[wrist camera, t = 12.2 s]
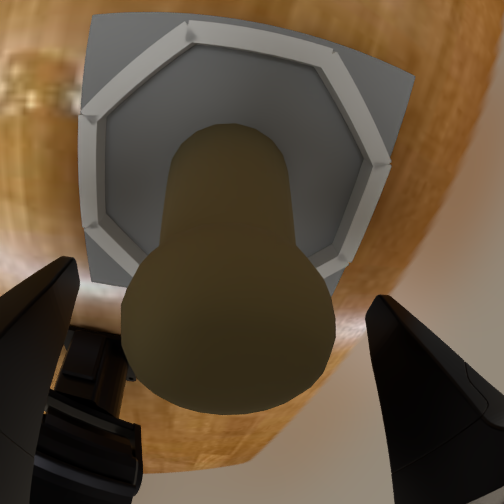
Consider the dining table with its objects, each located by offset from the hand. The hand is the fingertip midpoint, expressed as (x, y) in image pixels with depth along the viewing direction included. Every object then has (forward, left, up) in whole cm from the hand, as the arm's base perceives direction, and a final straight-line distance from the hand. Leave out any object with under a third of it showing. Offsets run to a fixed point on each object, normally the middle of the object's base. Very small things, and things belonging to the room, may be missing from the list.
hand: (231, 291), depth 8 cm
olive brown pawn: (0, 0, -8) cm, 8 cm away
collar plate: (0, 0, -8) cm, 9 cm away
